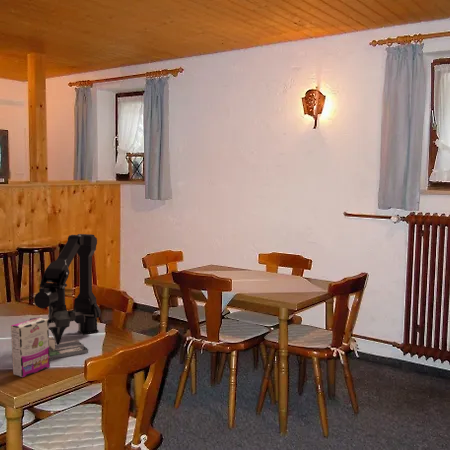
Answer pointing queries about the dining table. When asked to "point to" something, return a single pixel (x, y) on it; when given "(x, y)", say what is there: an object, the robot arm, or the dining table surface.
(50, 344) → the cube with stick handle
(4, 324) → the dining table surface
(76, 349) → the bench gauge
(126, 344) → the dining table surface
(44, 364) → the candy bar box
